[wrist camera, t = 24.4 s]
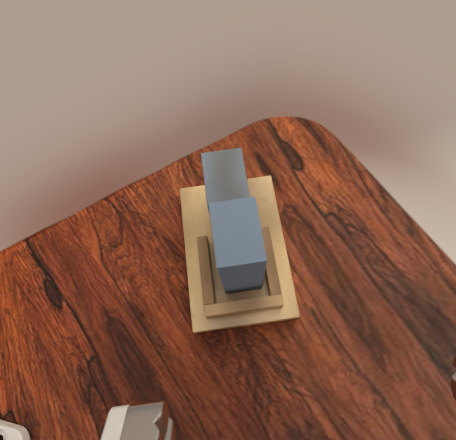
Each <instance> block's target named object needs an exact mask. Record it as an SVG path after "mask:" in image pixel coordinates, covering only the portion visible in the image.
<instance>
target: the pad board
mask: <svg viewBox="0 0 456 440" xmlns="http://www.w3.org/2000/svg"><path fill="white" fill-rule="evenodd" d="M201 159H202V167H203V175H204V183H205V185H203V186H196V187H189V188H182V189H180V199H181V210H182V221H183V232H184V243H185V254H186V265H187V276H188V287H189V298H190V309H191V320H192V331H193V333H195V334H197V333H203V332H210V331H217V330H224V329H231V328H238V327H245V326H252V325H258V324H265V323H272V322H279V321H286V320H293V319H298V318H299V317H300V314H299V309H298V304H297V299H296V294H295V290H294V285H293V280H292V275H291V270H290V265H289V261H288V256H287V251H286V246H285V241H284V236H283V232H282V227H281V222H280V217H279V212H278V208H277V203H276V198H275V193H274V188H273V183H272V179H271V176H264V177H257V178H250V179H247V177H246V171H245V166H244V160H243V154H242V149H241V148H235V149H228V150H221V151H214V152H208V153H201ZM254 196H255V198H256V204H257V209H258V215H259V220H260V225H261V231H262V236H263V241H264V247H265V252H266V258H267V263H266V269H265V274H264V280H263V286H262V289H256V290H249V291H243V292H236V293H229V294H226V293H225V290H224V287H223V285H222V282H221V279H220V276H219V273H218V270H217V267H216V260H215V252H214V244H213V236H212V228H211V220H210V212H209V205H208V204H209V203H213V202H220V201H227V200H233V199H240V198H247V197H254Z"/></svg>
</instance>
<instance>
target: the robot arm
mask: <svg viewBox="0 0 456 440" xmlns="http://www.w3.org/2000/svg"><path fill="white" fill-rule="evenodd" d="M453 365H454V366H455V367H456V356H455V358H454V363H453ZM451 389H452V392H453V396H454V398H455V400H456V372H455V373H454V374H453V376H452V377H451ZM0 435H2V436H3V440H30V436H29V432H28V431H27V429H26V428H25V427H23V426H21V425H17V424H14V423H10V422H7V421H4V420H0ZM101 440H176V432H175V426H174V422H173V420H172V419H171V418H169V406H168V403H167V400H161V401H154V402H146V403H138V404H130V405H124V406H116V407H112V408H111V410H110V411H109V413H108V416H107V419H106V423H105V426H104V430H103V433H102V436H101Z"/></svg>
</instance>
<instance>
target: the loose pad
mask: <svg viewBox="0 0 456 440" xmlns="http://www.w3.org/2000/svg"><path fill="white" fill-rule="evenodd" d="M208 205H209V212H210V220H211V228H212V236H213V244H214V252H215V260H216V267H217V270H218V273H219V276H220V279H221V282H222V285H223V287H224V290H225V293H226V294H229V293H236V292H243V291H249V290H256V289H262V286H263V280H264V274H265V269H266V263H267V258H266V252H265V247H264V241H263V236H262V231H261V225H260V220H259V215H258V209H257V204H256V198H255V196H254V197H247V198H240V199H233V200H227V201H220V202H213V203H209V204H208Z"/></svg>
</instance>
